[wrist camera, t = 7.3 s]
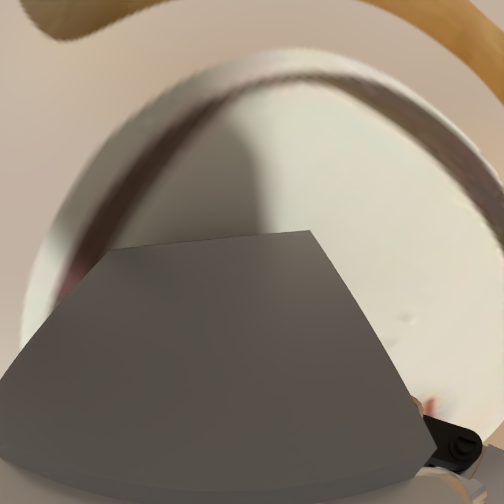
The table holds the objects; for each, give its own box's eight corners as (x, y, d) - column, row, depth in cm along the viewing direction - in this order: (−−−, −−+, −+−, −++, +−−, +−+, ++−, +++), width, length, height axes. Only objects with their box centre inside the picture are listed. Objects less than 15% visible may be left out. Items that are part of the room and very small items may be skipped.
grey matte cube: (110, 249, 11) (-30, 426, 3) (309, 230, 11) (436, 448, 3) (157, 387, 14) (123, 541, 6) (307, 378, 14) (344, 542, 6)
